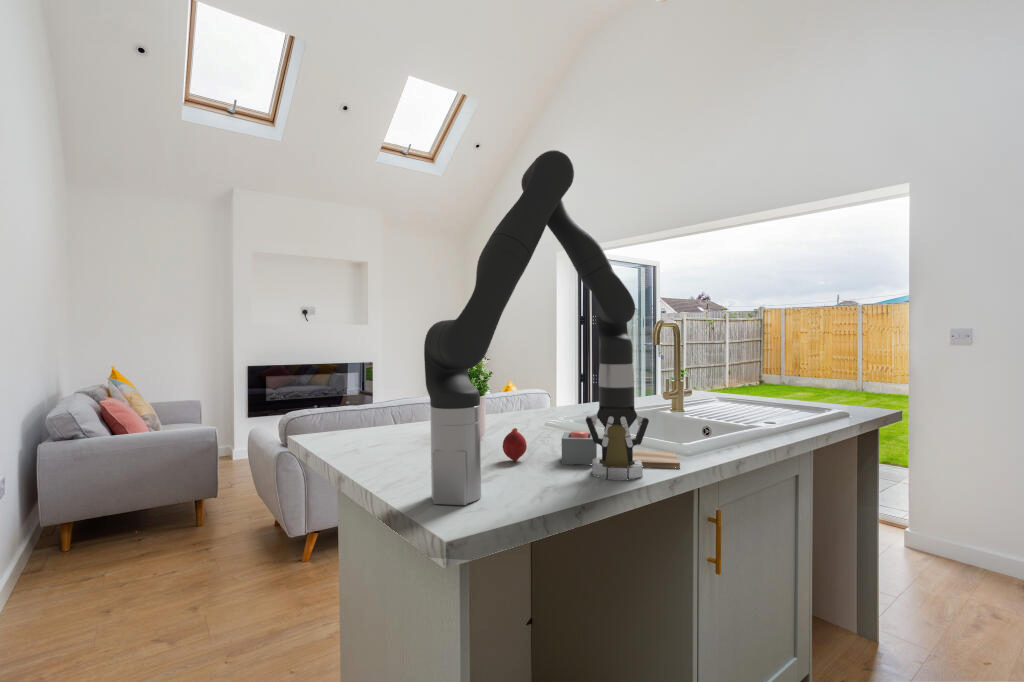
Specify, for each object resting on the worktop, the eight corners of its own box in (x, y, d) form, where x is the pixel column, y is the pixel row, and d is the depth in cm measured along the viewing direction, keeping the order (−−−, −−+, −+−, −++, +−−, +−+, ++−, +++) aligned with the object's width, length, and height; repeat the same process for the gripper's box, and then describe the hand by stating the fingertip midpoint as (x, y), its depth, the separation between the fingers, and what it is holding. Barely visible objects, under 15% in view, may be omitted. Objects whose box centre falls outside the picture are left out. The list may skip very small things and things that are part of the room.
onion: (522, 464, 118) (522, 430, 118) (499, 463, 120) (498, 429, 120) (529, 459, 124) (529, 426, 123) (507, 457, 125) (507, 425, 125)
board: (679, 468, 113) (679, 463, 113) (625, 466, 115) (625, 461, 115) (672, 456, 125) (672, 451, 125) (623, 454, 127) (623, 449, 127)
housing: (596, 465, 117) (596, 439, 117) (561, 464, 118) (561, 438, 118) (596, 457, 125) (596, 432, 125) (564, 456, 126) (564, 432, 126)
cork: (600, 475, 108) (599, 424, 108) (605, 468, 113) (604, 420, 113) (629, 478, 106) (628, 425, 106) (632, 470, 111) (632, 421, 111)
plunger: (587, 459, 119) (587, 434, 119) (570, 459, 120) (570, 433, 120) (588, 455, 123) (588, 431, 123) (571, 455, 124) (571, 430, 124)
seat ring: (643, 481, 103) (643, 468, 103) (592, 479, 105) (591, 467, 105) (640, 468, 114) (639, 456, 114) (593, 466, 116) (592, 455, 116)
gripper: (582, 386, 107) (583, 466, 107) (651, 386, 104) (652, 468, 105) (584, 382, 114) (585, 458, 114) (648, 382, 112) (649, 460, 112)
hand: (617, 462), depth 110 cm, fingers closed on cork, 3 cm apart
